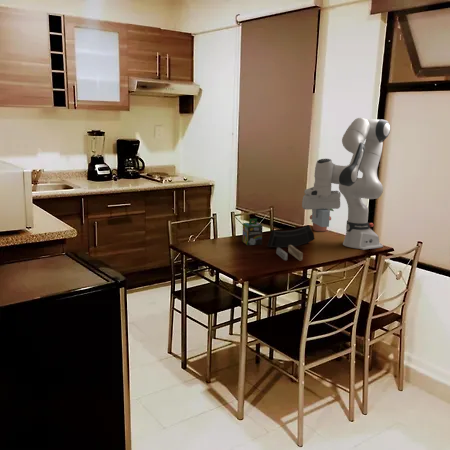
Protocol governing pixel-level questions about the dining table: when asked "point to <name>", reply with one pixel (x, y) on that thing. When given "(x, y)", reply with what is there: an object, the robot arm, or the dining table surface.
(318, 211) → the book
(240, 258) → the dining table surface
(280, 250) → the gray flat block
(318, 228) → the decorative flower
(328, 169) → the robot arm
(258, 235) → the chalk box
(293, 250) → the shelf wall
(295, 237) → the magazine
